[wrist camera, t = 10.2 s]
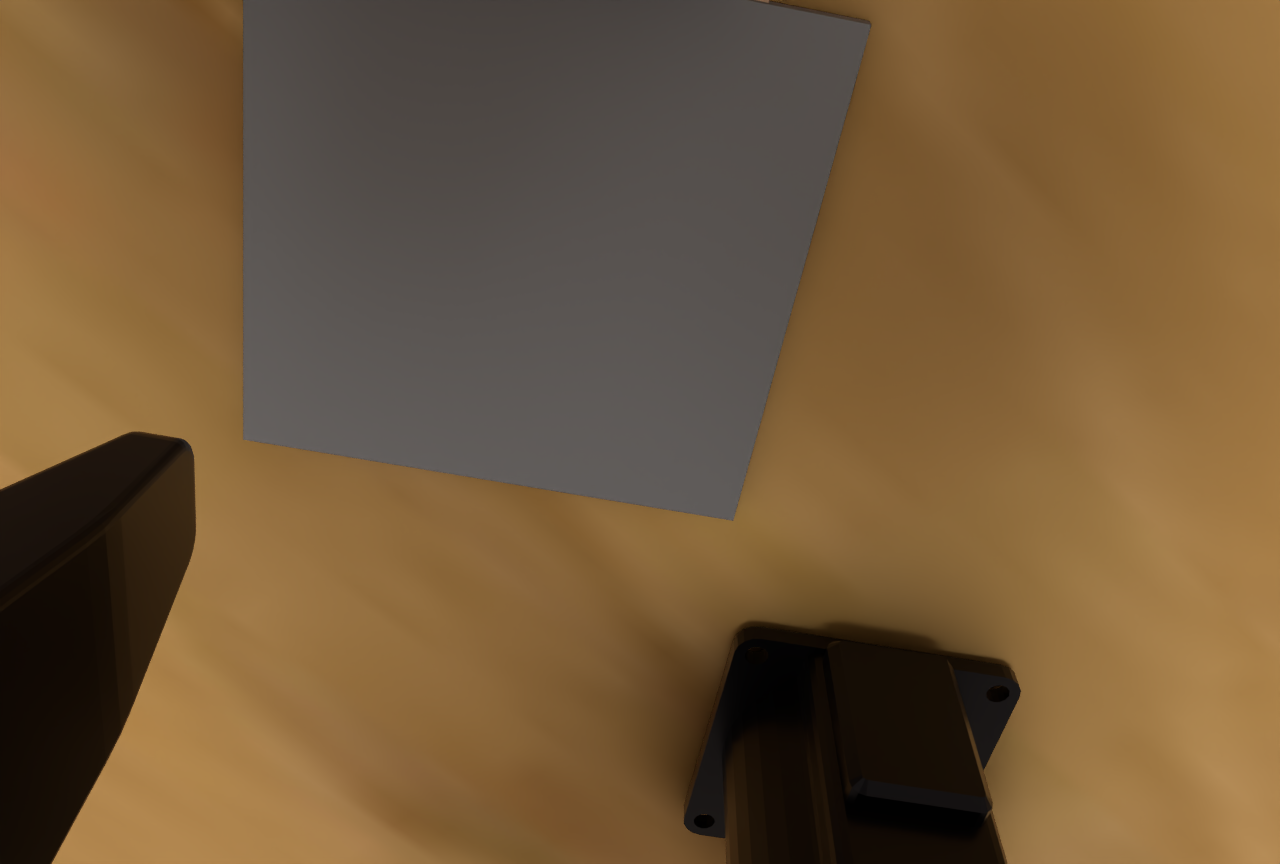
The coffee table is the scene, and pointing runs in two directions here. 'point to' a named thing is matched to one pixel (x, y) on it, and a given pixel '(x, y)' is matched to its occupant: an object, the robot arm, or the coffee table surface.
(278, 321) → the mat
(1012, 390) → the coffee table surface
